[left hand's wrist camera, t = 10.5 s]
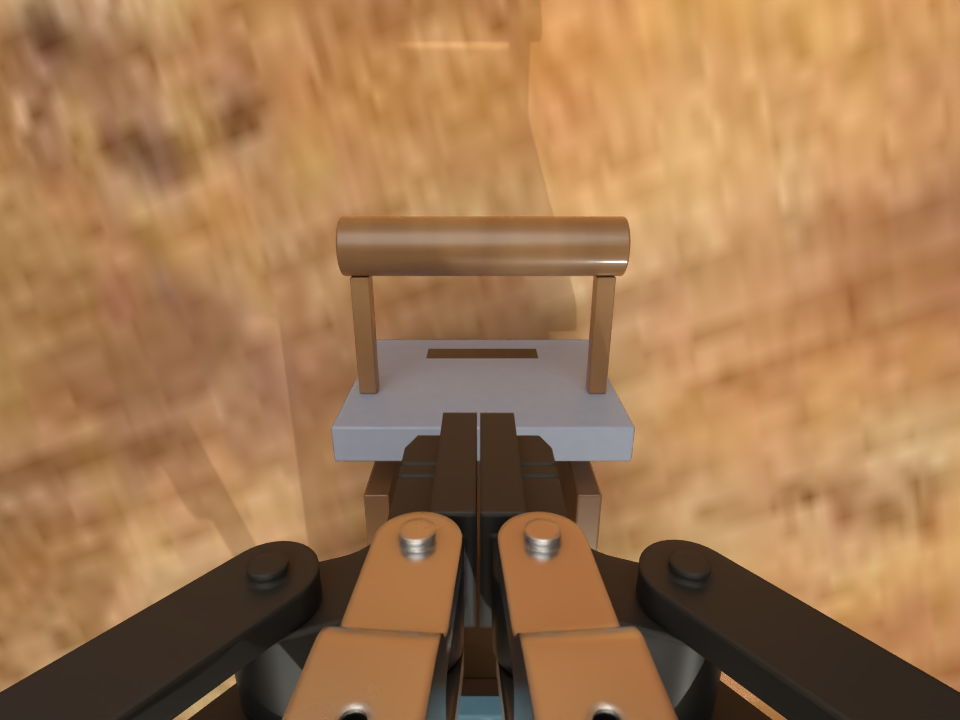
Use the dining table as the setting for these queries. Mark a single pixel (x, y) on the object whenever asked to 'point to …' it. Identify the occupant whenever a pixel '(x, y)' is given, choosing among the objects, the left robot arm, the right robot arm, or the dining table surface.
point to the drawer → (484, 365)
